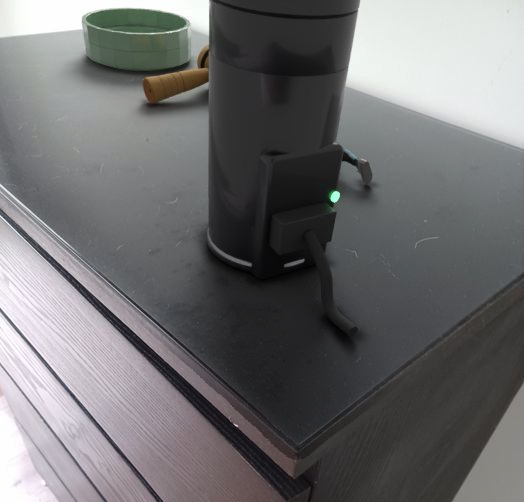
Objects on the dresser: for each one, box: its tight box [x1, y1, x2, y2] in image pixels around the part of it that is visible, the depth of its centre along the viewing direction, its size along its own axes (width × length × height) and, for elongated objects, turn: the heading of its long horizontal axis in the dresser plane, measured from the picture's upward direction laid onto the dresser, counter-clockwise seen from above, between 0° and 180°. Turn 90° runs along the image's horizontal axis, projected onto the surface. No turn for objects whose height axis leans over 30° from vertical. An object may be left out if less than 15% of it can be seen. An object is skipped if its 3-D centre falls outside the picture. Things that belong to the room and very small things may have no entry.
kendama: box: [142, 44, 209, 105], centre depth 68 cm, size 8×6×18 cm
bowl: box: [81, 7, 192, 72], centre depth 78 cm, size 15×15×5 cm
